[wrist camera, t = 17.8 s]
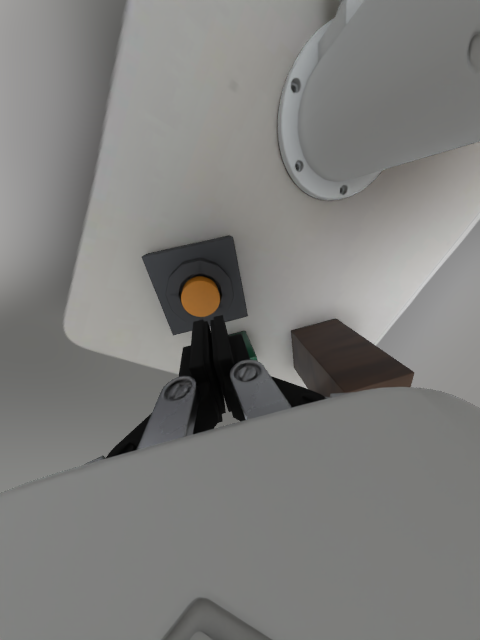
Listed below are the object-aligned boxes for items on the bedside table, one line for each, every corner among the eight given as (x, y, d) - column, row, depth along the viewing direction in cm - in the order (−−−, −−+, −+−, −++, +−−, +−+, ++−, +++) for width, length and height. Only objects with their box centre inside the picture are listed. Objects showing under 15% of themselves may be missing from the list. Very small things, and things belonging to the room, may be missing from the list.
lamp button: (177, 280, 19) (175, 285, 18) (213, 272, 20) (215, 276, 18) (188, 313, 21) (187, 321, 19) (222, 305, 21) (224, 311, 20)
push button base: (146, 253, 21) (136, 259, 18) (229, 235, 22) (235, 237, 18) (175, 326, 25) (171, 343, 22) (244, 309, 26) (251, 322, 22)
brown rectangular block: (290, 330, 29) (345, 393, 18) (336, 318, 29) (415, 372, 19) (294, 367, 32) (341, 439, 21) (334, 356, 32) (401, 420, 22)
